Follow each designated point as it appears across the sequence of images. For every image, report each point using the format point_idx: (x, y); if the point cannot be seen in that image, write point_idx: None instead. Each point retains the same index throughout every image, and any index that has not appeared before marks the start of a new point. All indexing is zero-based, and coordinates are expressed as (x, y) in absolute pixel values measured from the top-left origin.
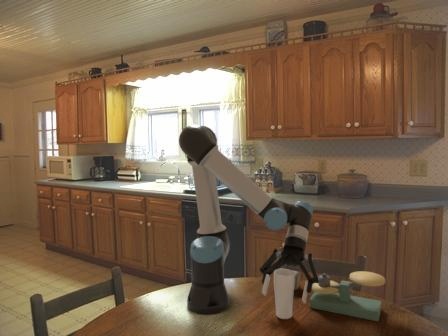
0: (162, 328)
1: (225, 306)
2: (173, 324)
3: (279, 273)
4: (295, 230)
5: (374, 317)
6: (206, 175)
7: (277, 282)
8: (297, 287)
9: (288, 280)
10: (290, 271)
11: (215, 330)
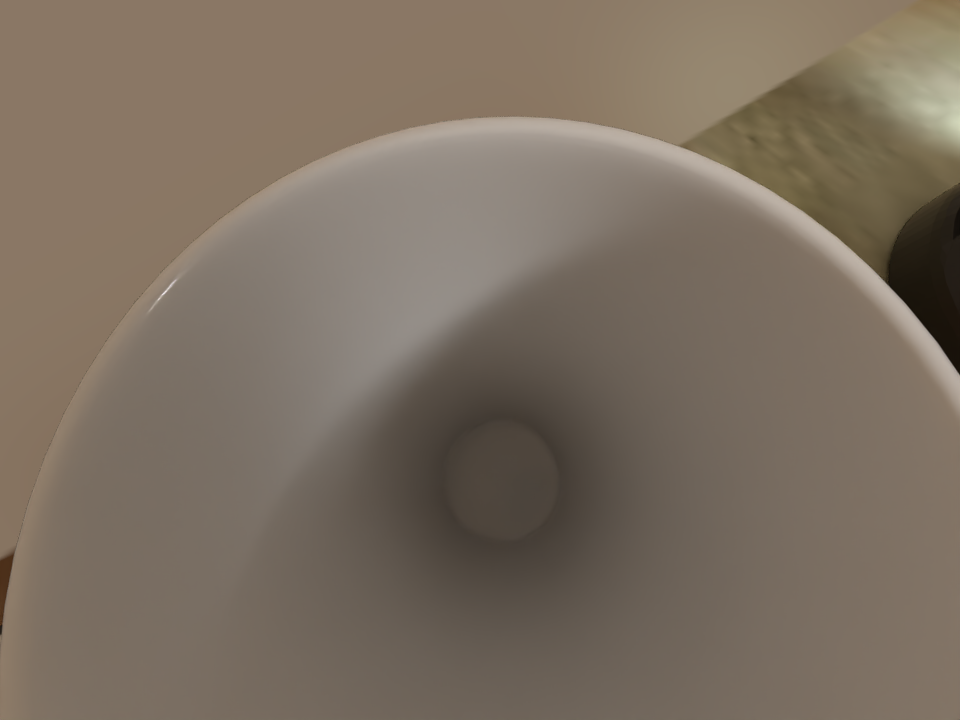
0: (949, 11)
1: (921, 306)
2: (950, 54)
3: (785, 705)
4: None
5: None
6: None
7: (537, 259)
8: None
9: (282, 311)
10: None
11: (732, 123)
